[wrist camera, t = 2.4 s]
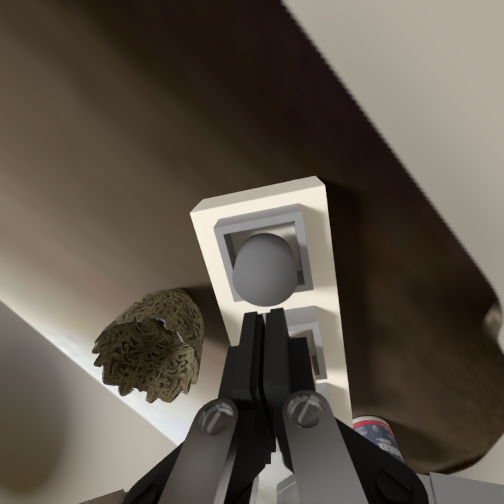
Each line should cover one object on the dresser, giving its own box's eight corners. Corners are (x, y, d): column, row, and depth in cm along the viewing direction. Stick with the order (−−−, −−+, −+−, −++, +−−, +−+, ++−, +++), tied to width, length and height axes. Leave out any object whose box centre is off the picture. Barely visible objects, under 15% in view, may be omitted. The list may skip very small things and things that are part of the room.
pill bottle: (399, 430, 32) (444, 533, 24) (363, 450, 34) (393, 552, 25) (369, 407, 31) (405, 507, 23) (332, 429, 32) (354, 529, 24)
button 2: (231, 238, 17) (225, 255, 15) (288, 227, 17) (292, 243, 14) (244, 288, 19) (240, 311, 16) (297, 279, 18) (302, 301, 16)
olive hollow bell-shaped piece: (228, 283, 25) (212, 345, 18) (204, 342, 28) (182, 416, 21) (149, 255, 25) (99, 307, 17) (133, 318, 28) (84, 385, 20)
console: (202, 199, 22) (181, 221, 17) (315, 175, 21) (331, 191, 16) (260, 400, 31) (258, 458, 26) (343, 391, 30) (359, 450, 24)
